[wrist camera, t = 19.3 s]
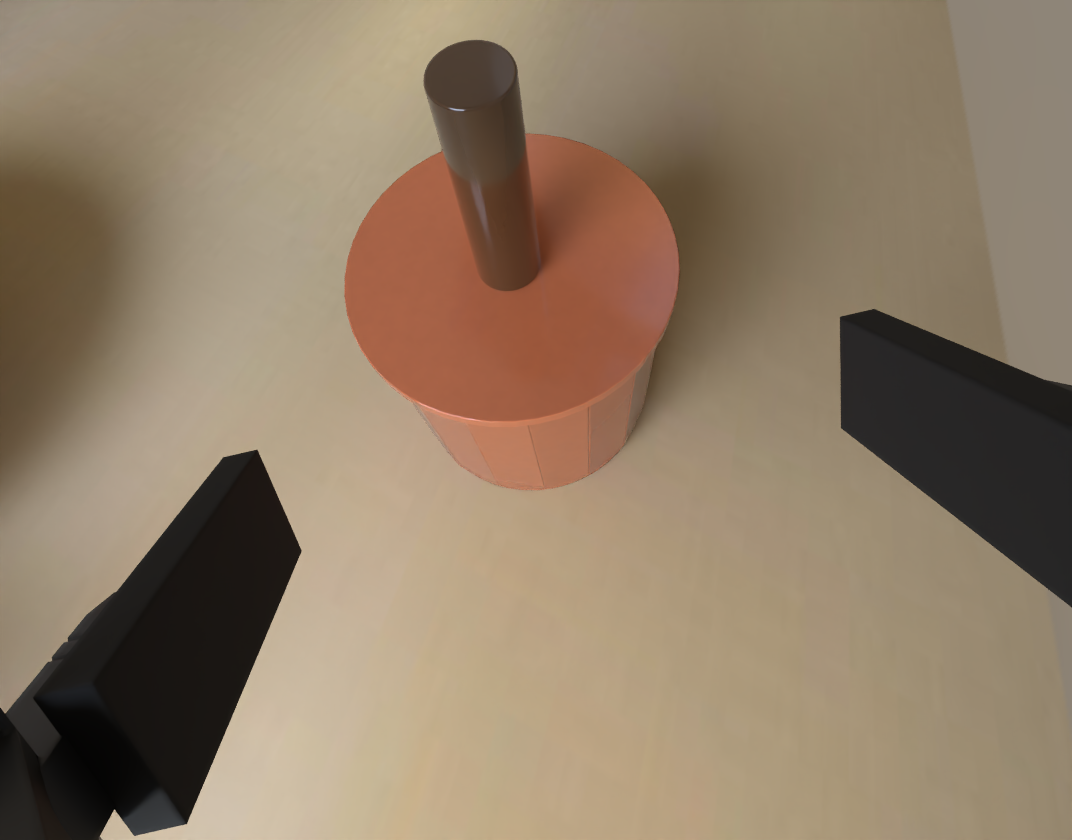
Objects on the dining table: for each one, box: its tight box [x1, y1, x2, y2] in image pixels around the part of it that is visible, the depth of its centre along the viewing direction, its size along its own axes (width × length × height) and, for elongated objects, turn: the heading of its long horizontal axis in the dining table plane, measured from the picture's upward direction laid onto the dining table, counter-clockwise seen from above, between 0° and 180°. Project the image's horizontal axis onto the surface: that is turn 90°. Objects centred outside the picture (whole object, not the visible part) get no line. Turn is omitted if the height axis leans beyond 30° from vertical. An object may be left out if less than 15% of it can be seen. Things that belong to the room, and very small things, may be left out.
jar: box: [412, 350, 655, 490], centre depth 32 cm, size 13×13×12 cm
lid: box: [345, 40, 680, 427], centre depth 22 cm, size 14×14×10 cm
